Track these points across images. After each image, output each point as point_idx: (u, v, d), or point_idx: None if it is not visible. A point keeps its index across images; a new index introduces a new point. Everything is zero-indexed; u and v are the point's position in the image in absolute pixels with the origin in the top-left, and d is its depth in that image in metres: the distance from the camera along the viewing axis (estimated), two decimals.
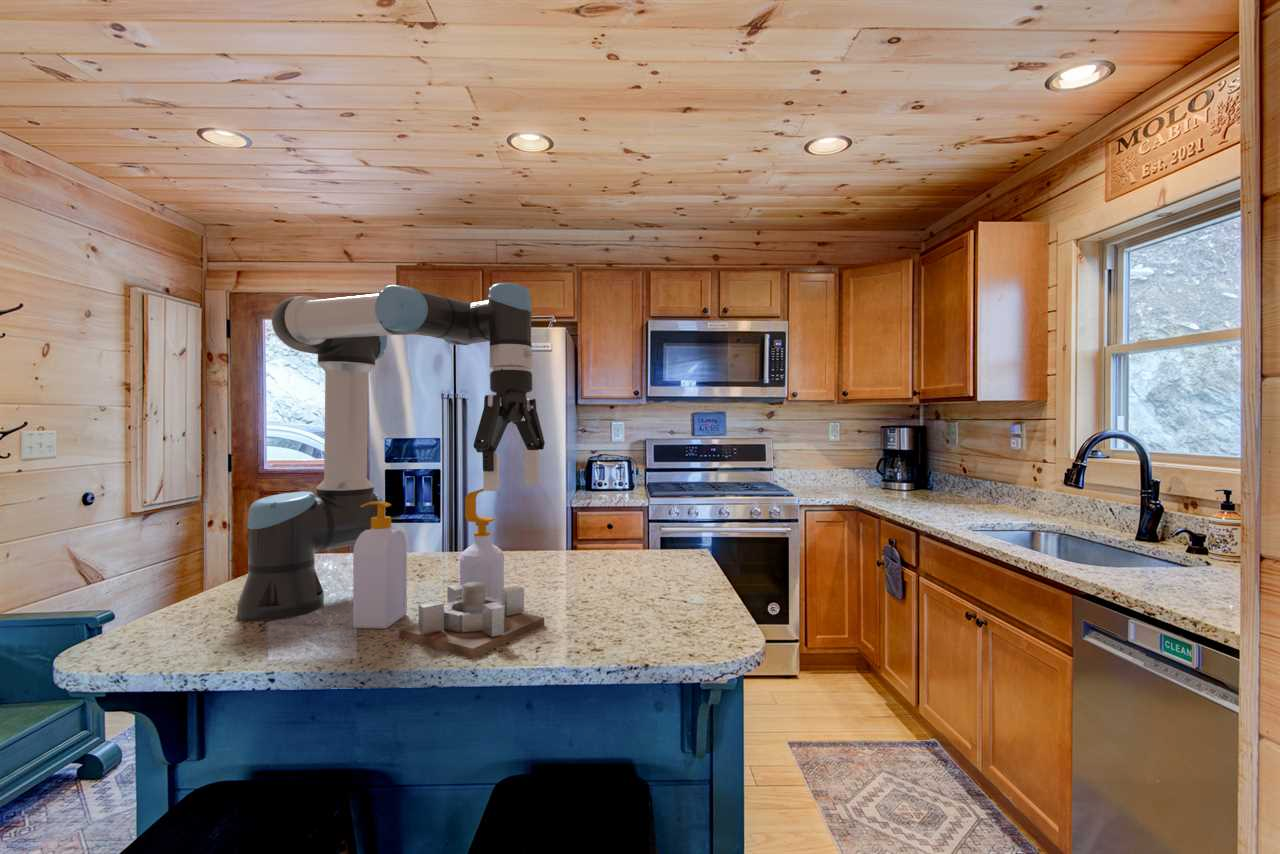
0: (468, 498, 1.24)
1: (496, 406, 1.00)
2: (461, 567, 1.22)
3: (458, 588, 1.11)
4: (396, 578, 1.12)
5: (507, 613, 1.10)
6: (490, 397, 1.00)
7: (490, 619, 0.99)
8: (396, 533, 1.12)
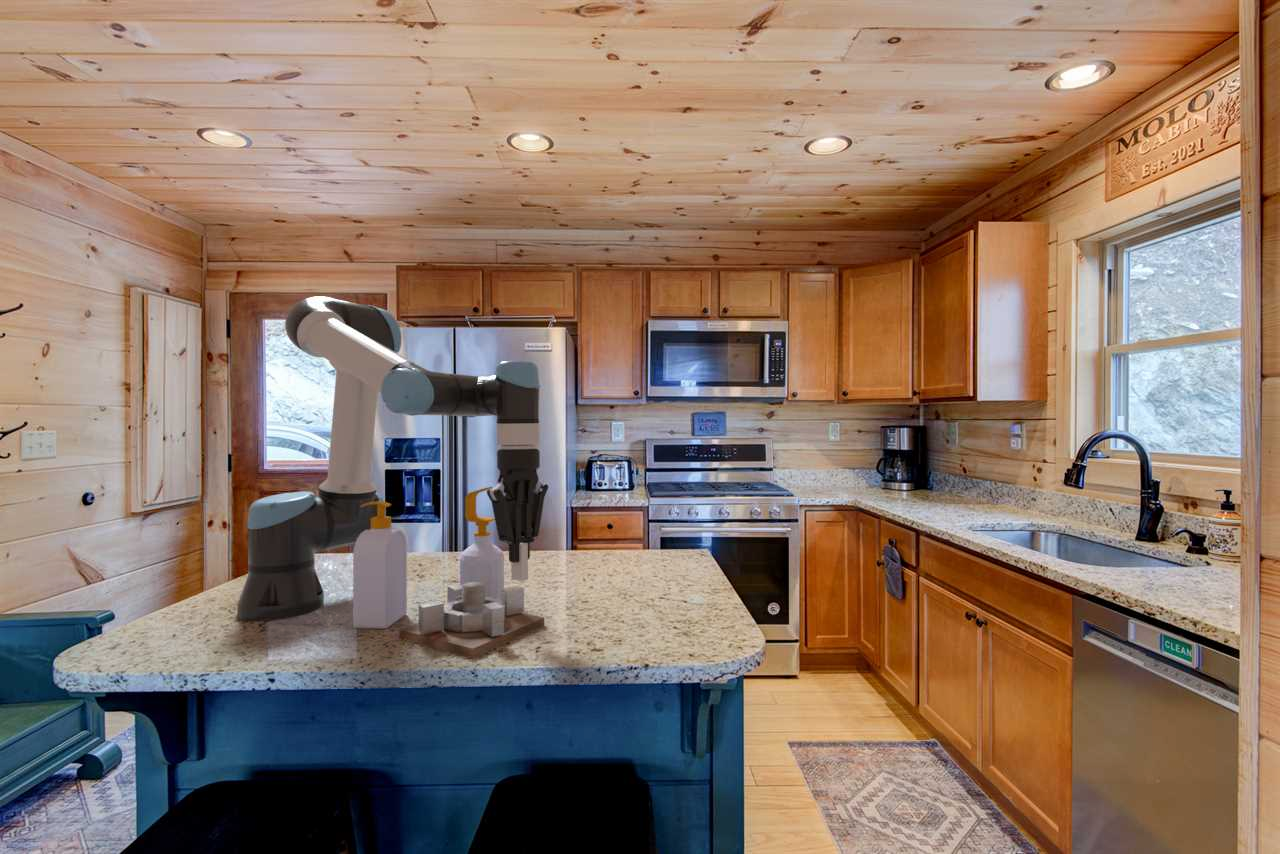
0: (468, 498, 1.24)
1: None
2: (461, 567, 1.22)
3: (458, 588, 1.11)
4: (396, 578, 1.12)
5: (507, 613, 1.10)
6: None
7: (490, 619, 0.99)
8: (396, 533, 1.12)
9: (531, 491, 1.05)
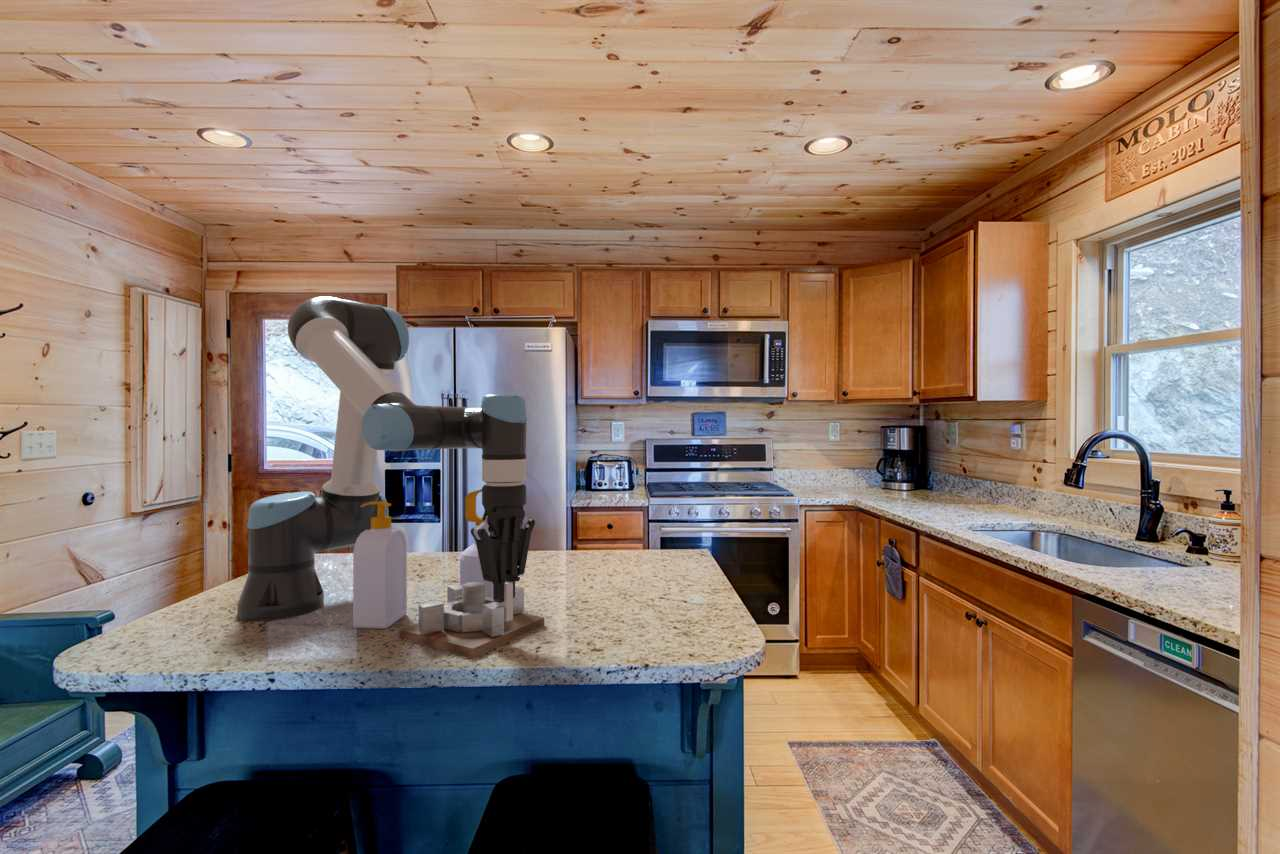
0: (468, 498, 1.24)
1: None
2: (461, 567, 1.22)
3: (458, 588, 1.11)
4: (396, 578, 1.12)
5: None
6: None
7: (490, 619, 0.99)
8: (396, 533, 1.12)
9: (517, 528, 1.02)
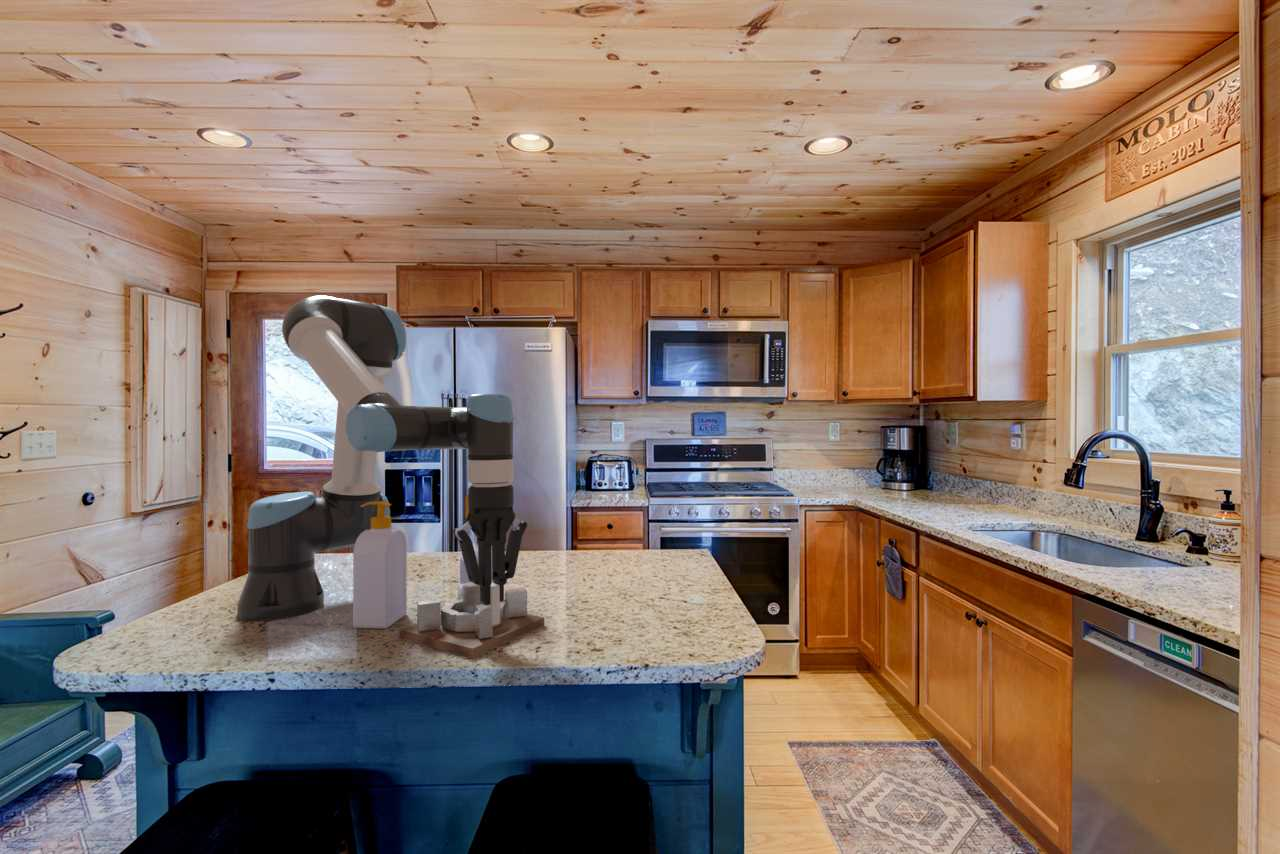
0: None
1: None
2: (461, 567, 1.22)
3: None
4: (396, 578, 1.12)
5: (508, 615, 1.08)
6: None
7: (478, 621, 0.98)
8: (396, 533, 1.12)
9: (503, 530, 1.00)
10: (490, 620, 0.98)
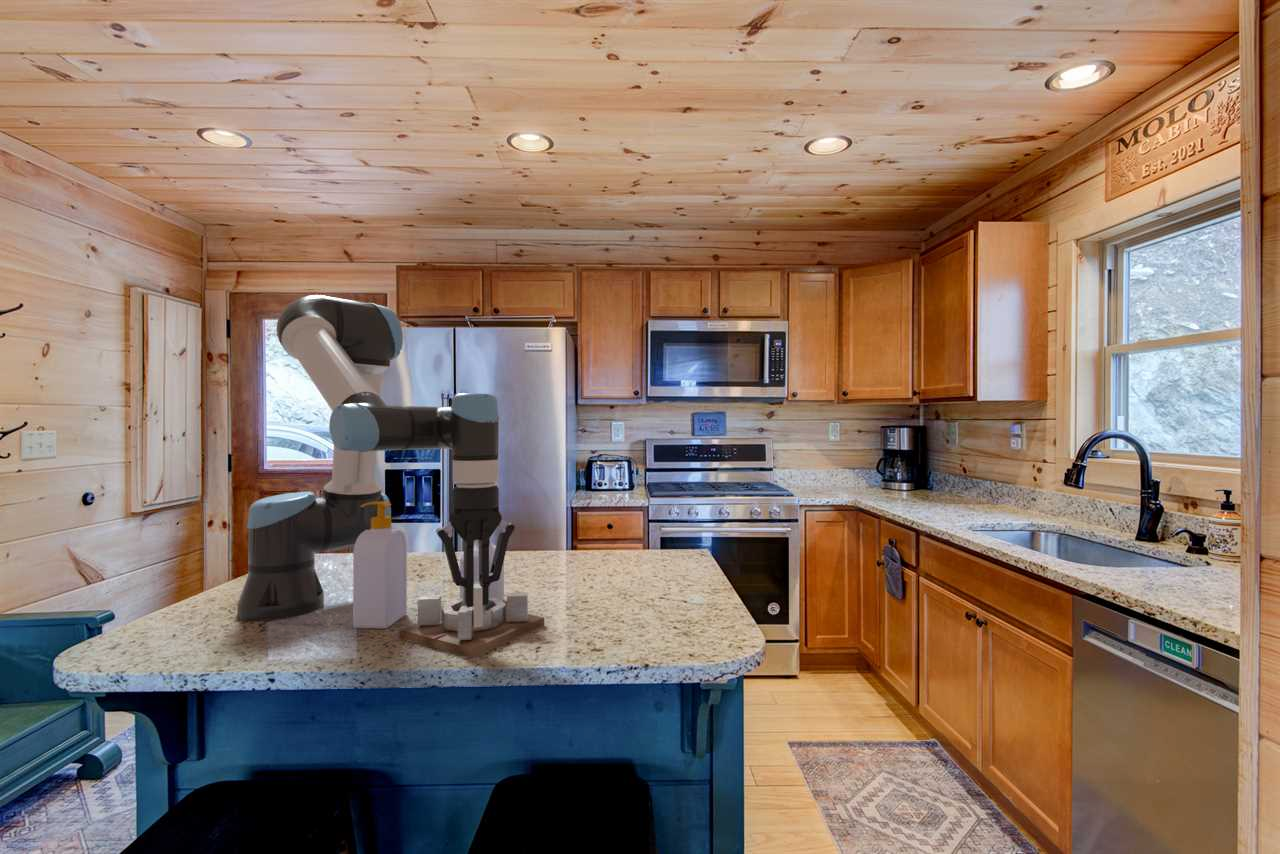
0: None
1: None
2: (461, 567, 1.22)
3: None
4: (396, 578, 1.12)
5: (507, 619, 1.06)
6: None
7: (458, 622, 0.97)
8: (396, 533, 1.12)
9: (487, 532, 0.98)
10: (469, 623, 0.97)
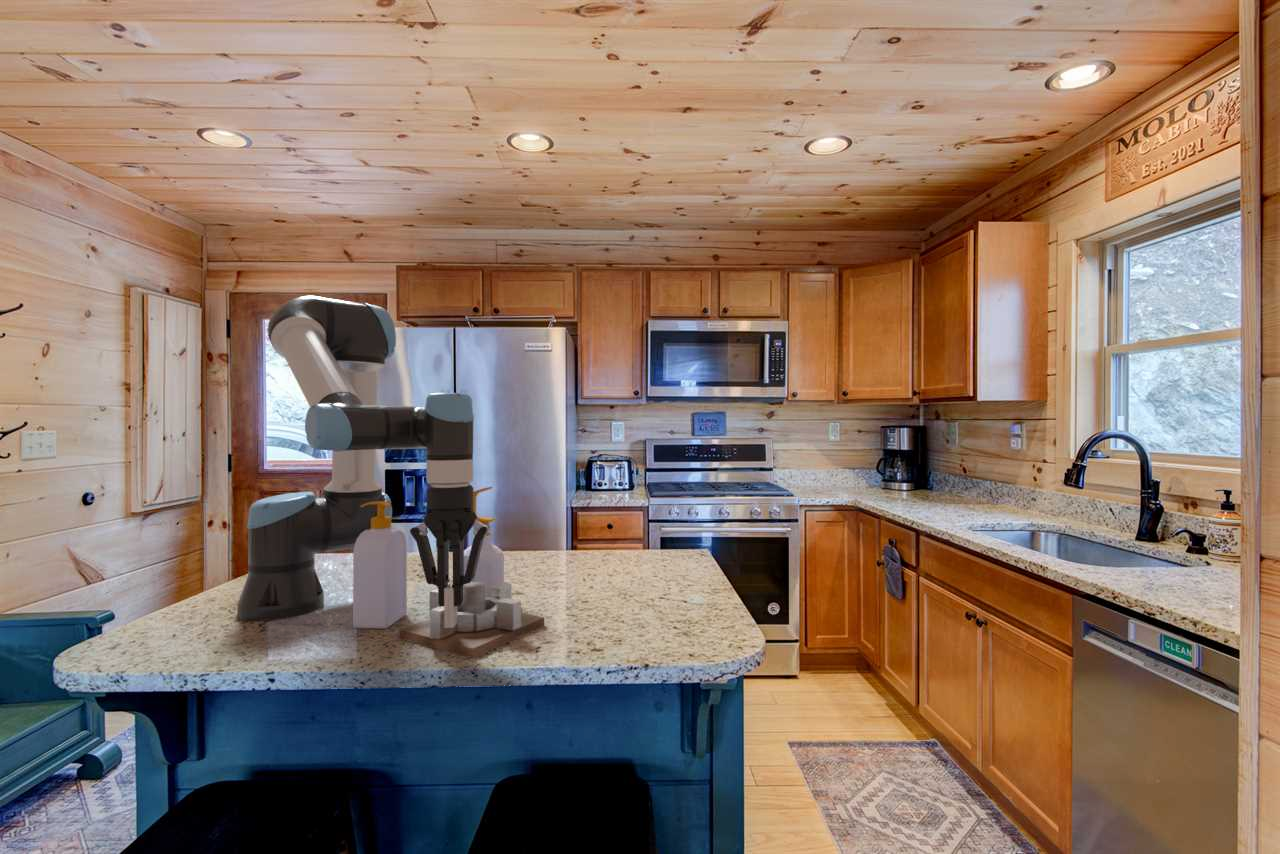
0: None
1: (483, 536, 1.00)
2: None
3: (496, 586, 1.13)
4: (396, 578, 1.12)
5: (497, 625, 1.03)
6: (487, 531, 0.99)
7: None
8: (396, 533, 1.12)
9: (456, 533, 0.97)
10: (438, 622, 0.97)
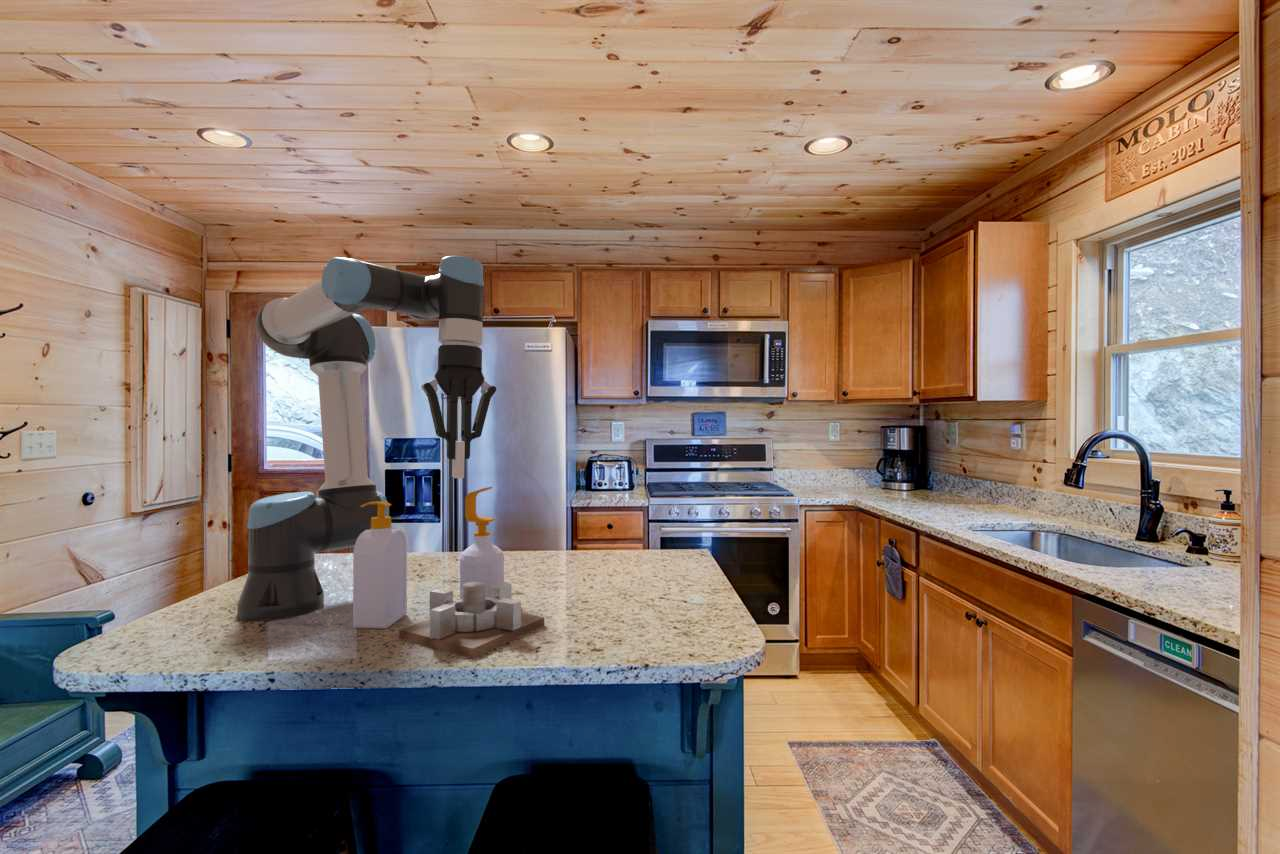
0: (468, 498, 1.24)
1: None
2: (461, 567, 1.22)
3: (496, 586, 1.13)
4: (396, 578, 1.12)
5: (497, 625, 1.03)
6: None
7: None
8: (396, 533, 1.12)
9: (470, 390, 1.04)
10: (438, 622, 0.97)
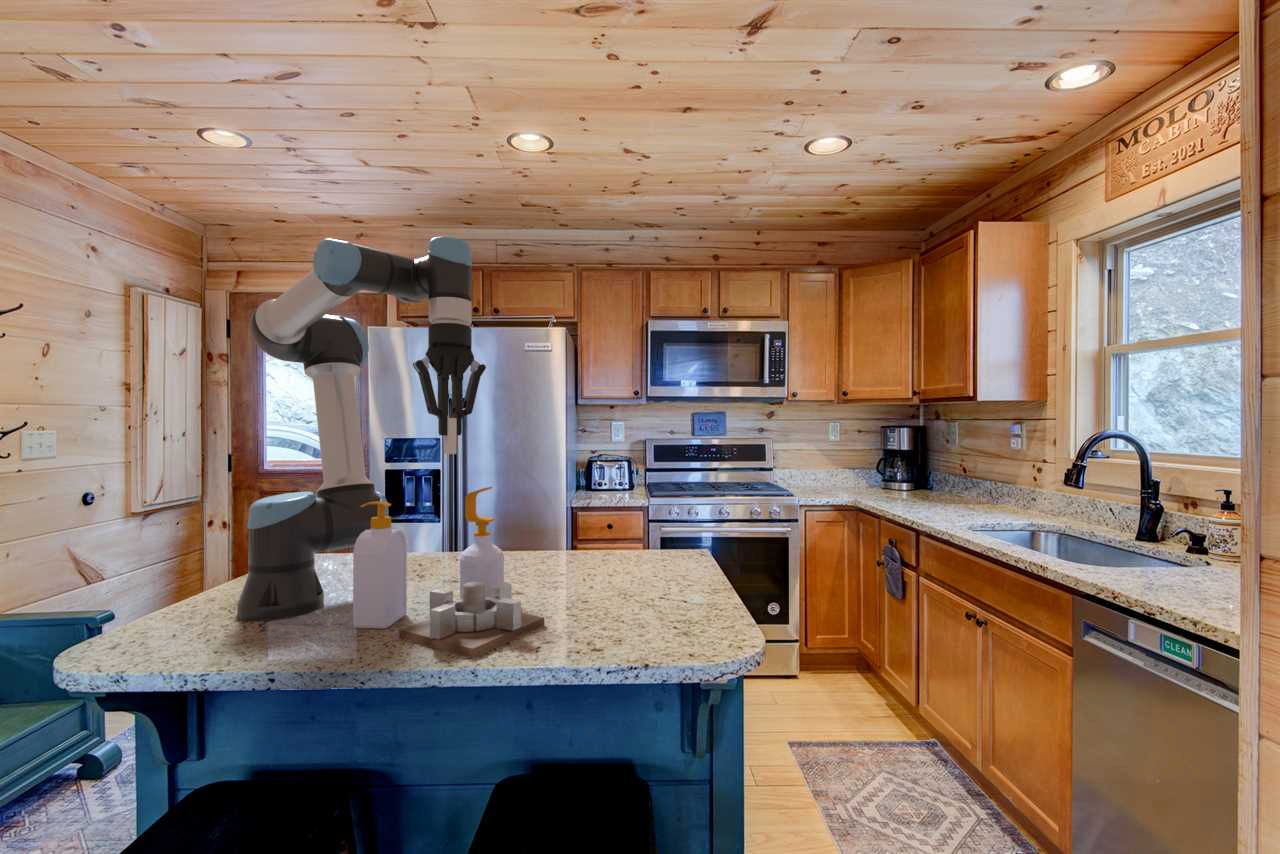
0: (468, 498, 1.24)
1: None
2: (461, 567, 1.22)
3: (496, 586, 1.13)
4: (396, 578, 1.12)
5: (497, 625, 1.03)
6: None
7: None
8: (396, 533, 1.12)
9: (461, 367, 1.06)
10: (438, 622, 0.97)
